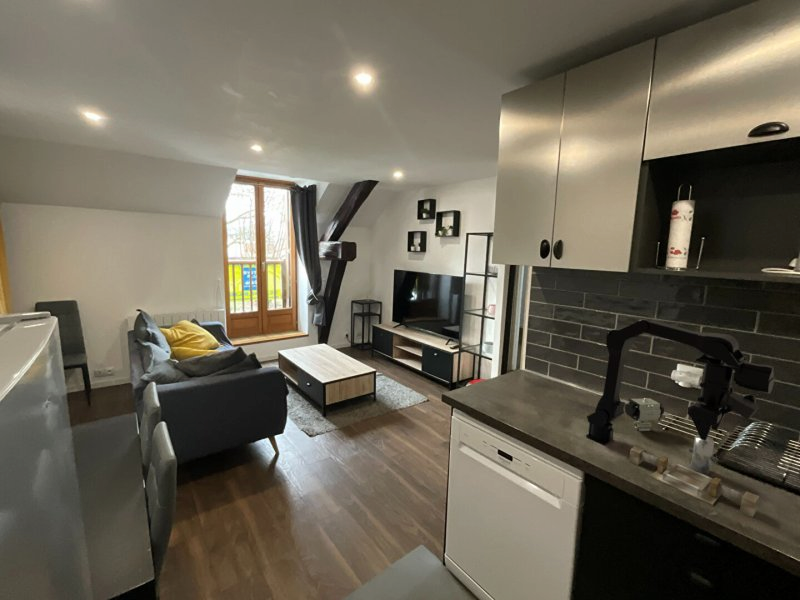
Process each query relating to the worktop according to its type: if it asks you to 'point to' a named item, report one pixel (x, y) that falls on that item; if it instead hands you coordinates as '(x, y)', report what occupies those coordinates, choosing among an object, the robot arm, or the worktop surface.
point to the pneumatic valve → (644, 412)
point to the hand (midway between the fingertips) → (708, 434)
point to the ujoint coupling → (702, 455)
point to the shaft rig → (694, 482)
